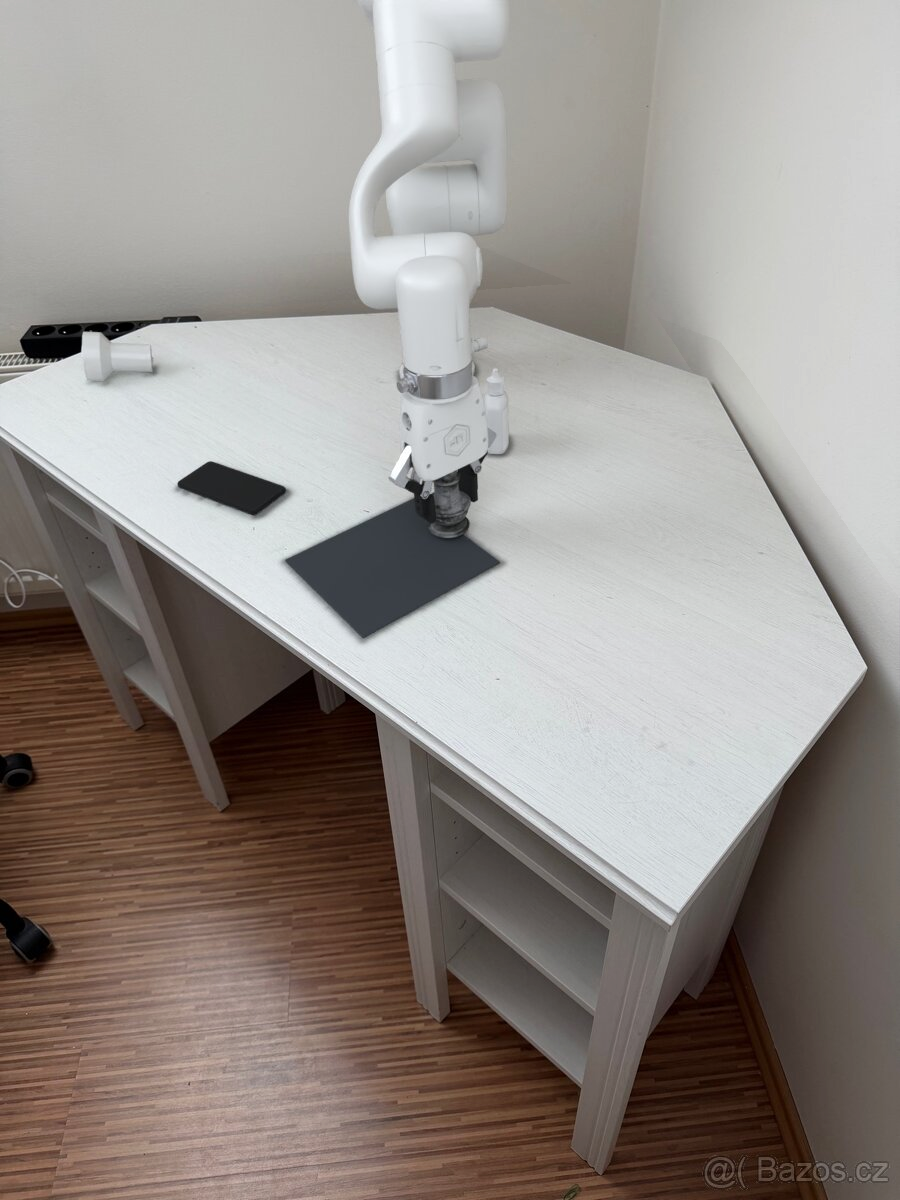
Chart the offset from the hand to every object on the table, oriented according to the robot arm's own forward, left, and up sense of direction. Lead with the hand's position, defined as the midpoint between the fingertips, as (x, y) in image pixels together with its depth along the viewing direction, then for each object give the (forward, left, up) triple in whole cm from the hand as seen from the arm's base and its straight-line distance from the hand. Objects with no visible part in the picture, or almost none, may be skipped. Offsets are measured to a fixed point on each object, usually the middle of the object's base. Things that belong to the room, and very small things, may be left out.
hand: (447, 506), depth 104 cm
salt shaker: (0, 0, -3) cm, 3 cm away
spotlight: (+16, -74, -4) cm, 76 cm away
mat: (+9, 0, -4) cm, 10 cm away
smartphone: (+17, -28, -4) cm, 33 cm away
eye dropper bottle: (-18, -12, -4) cm, 22 cm away
